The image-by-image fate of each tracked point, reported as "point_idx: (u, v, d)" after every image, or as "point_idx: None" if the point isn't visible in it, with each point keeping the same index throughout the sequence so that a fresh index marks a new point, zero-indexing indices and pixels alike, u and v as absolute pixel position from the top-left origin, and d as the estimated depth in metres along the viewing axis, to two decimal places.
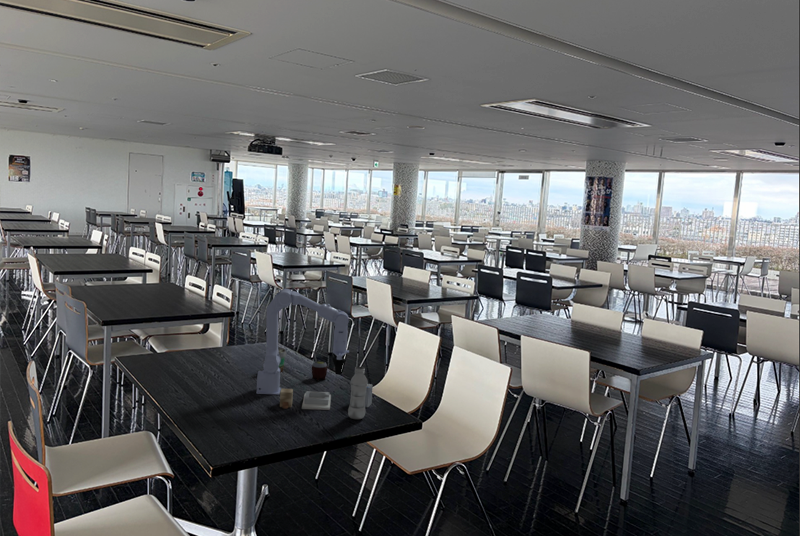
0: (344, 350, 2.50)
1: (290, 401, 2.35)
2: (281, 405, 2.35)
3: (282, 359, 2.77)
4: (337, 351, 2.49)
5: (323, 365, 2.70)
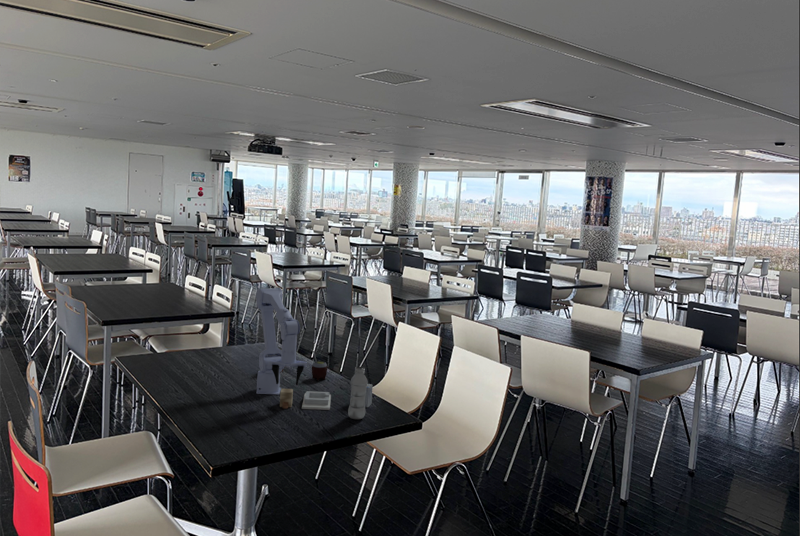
0: (282, 360, 2.33)
1: (290, 401, 2.35)
2: (281, 405, 2.35)
3: None
4: None
5: (323, 365, 2.70)
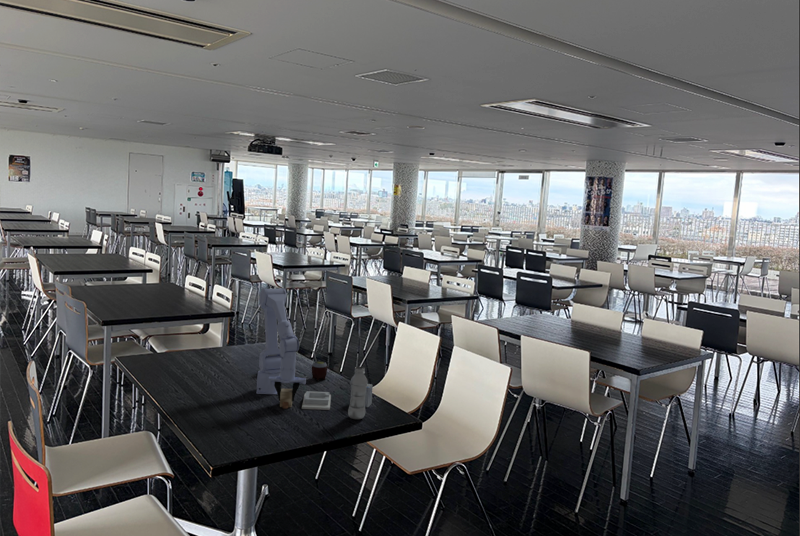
0: (282, 377, 2.34)
1: (290, 401, 2.35)
2: (281, 405, 2.35)
3: None
4: None
5: (323, 365, 2.70)
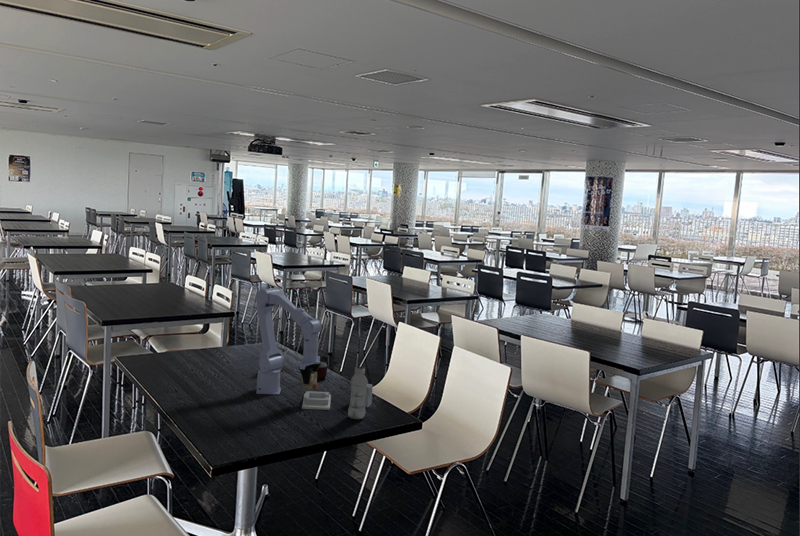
0: (312, 360, 2.37)
1: (316, 380, 2.41)
2: (312, 387, 2.38)
3: None
4: (305, 360, 2.37)
5: (323, 365, 2.70)
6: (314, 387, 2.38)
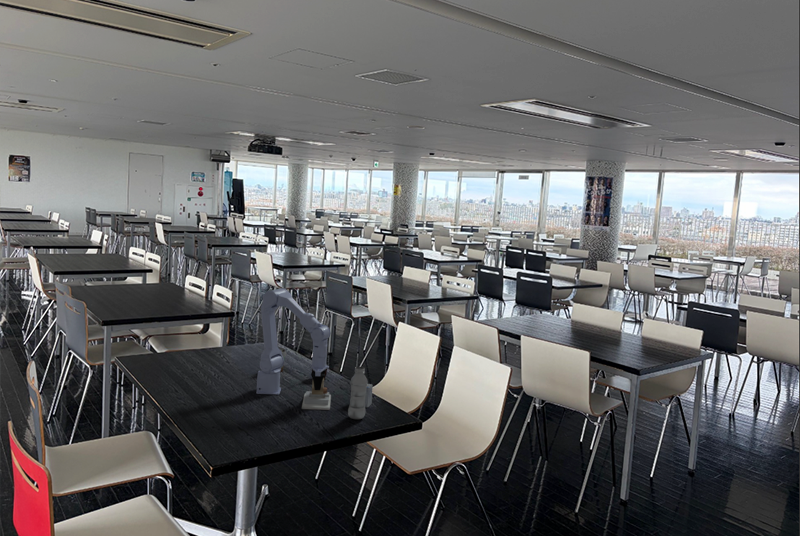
0: (323, 366, 2.39)
1: None
2: (323, 392, 2.41)
3: None
4: (316, 367, 2.38)
5: None
6: (324, 392, 2.42)
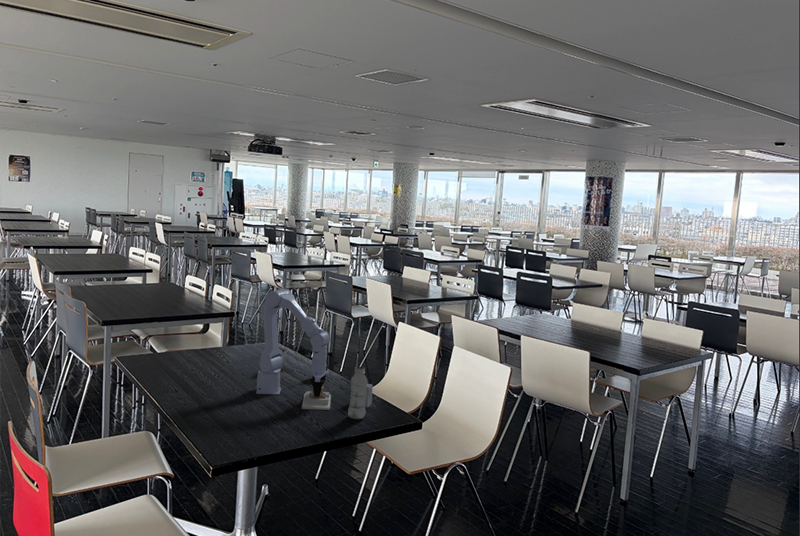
0: (323, 371, 2.39)
1: None
2: None
3: None
4: (316, 372, 2.38)
5: None
6: None
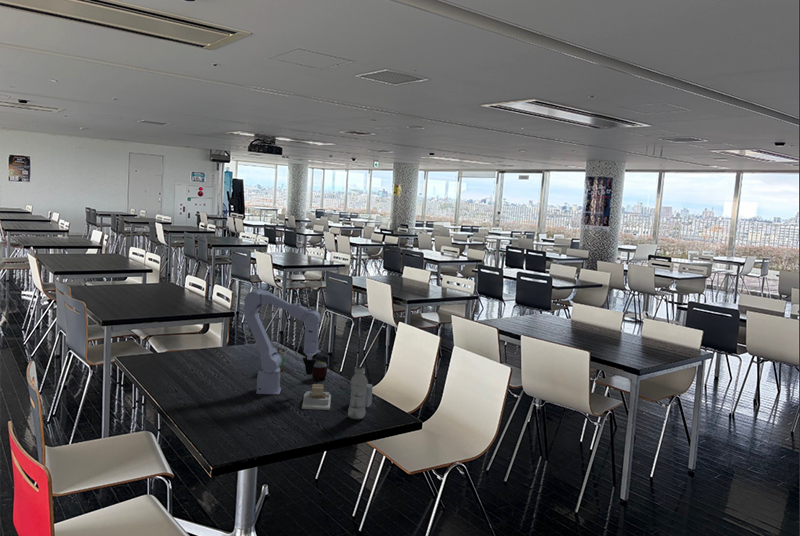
0: (315, 350, 2.46)
1: None
2: None
3: (282, 359, 2.77)
4: (308, 351, 2.45)
5: (323, 365, 2.70)
6: None
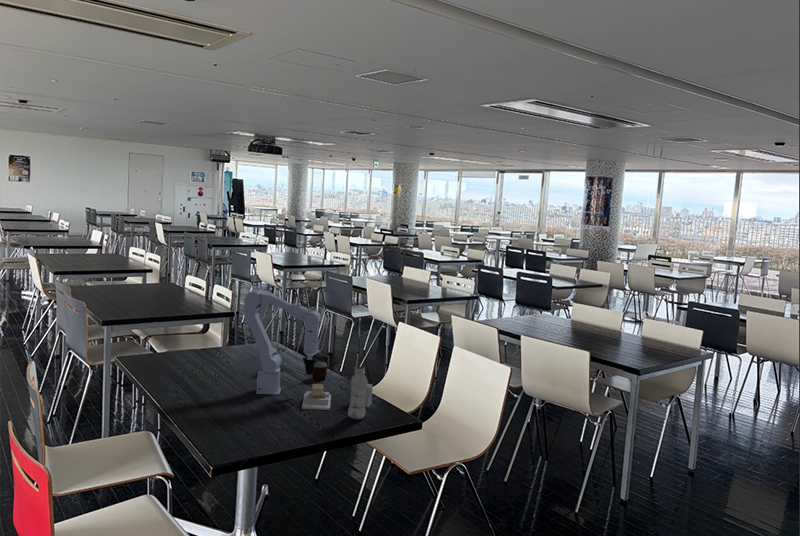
0: (315, 350, 2.46)
1: None
2: None
3: (282, 359, 2.77)
4: (308, 351, 2.45)
5: (323, 365, 2.70)
6: None
